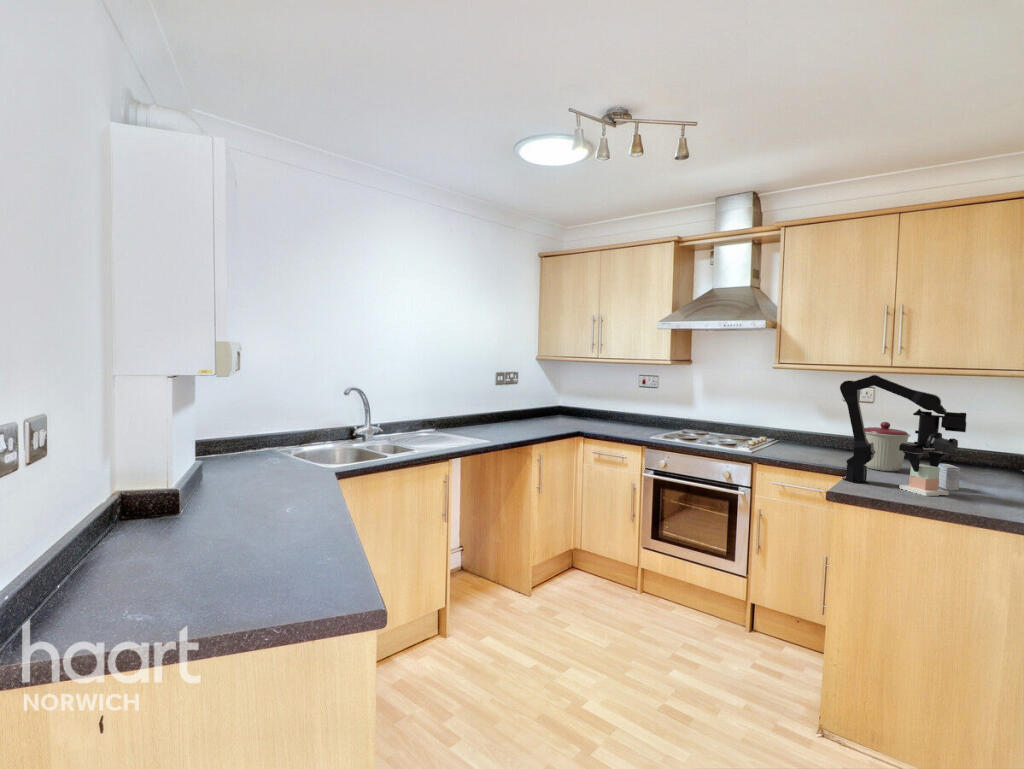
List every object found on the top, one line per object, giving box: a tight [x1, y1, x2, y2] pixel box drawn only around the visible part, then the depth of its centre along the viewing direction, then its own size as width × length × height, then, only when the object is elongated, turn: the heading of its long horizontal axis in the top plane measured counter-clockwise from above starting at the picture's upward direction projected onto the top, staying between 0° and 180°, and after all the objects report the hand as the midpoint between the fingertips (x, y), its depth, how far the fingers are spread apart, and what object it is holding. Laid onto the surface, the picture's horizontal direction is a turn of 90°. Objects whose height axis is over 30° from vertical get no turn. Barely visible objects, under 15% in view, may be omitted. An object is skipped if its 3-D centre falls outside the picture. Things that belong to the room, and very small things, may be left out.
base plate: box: [898, 484, 950, 497], centre depth 191 cm, size 10×10×2 cm
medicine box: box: [938, 463, 961, 492], centre depth 199 cm, size 8×4×9 cm, turn 168°
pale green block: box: [909, 463, 940, 479], centre depth 190 cm, size 6×6×4 cm
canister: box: [864, 421, 911, 473], centre depth 231 cm, size 18×18×21 cm
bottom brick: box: [908, 475, 940, 490], centre depth 190 cm, size 6×6×4 cm
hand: (924, 471), depth 190 cm, fingers open, 8 cm apart
